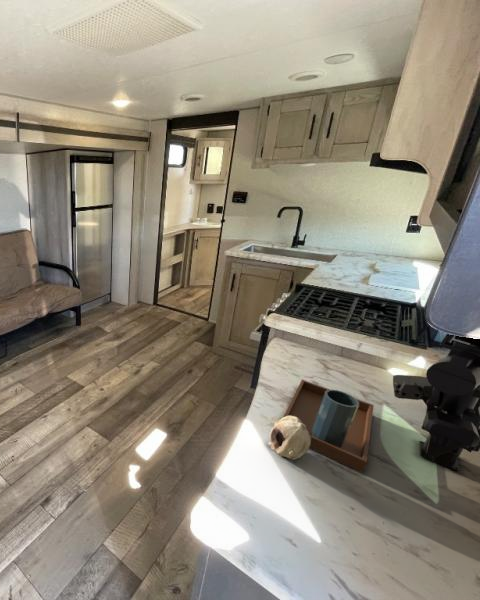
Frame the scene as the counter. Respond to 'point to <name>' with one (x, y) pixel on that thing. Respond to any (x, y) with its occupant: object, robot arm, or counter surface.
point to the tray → (358, 434)
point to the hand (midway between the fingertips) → (428, 442)
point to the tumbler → (334, 417)
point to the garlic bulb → (290, 437)
